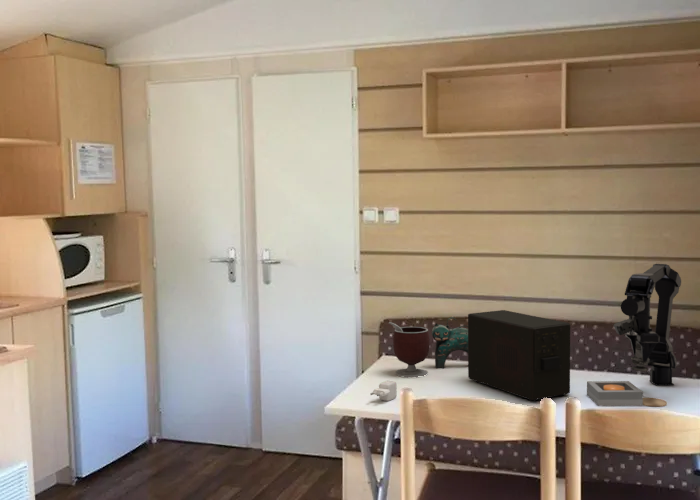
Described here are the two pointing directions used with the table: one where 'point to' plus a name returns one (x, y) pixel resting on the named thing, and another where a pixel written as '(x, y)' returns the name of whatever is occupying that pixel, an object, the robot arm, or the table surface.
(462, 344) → the ceramic cat
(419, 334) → the mate gourd
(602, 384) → the breaker guard
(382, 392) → the power adapter
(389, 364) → the table surface
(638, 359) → the salt shaker
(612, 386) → the button
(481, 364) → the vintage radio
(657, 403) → the coaster
